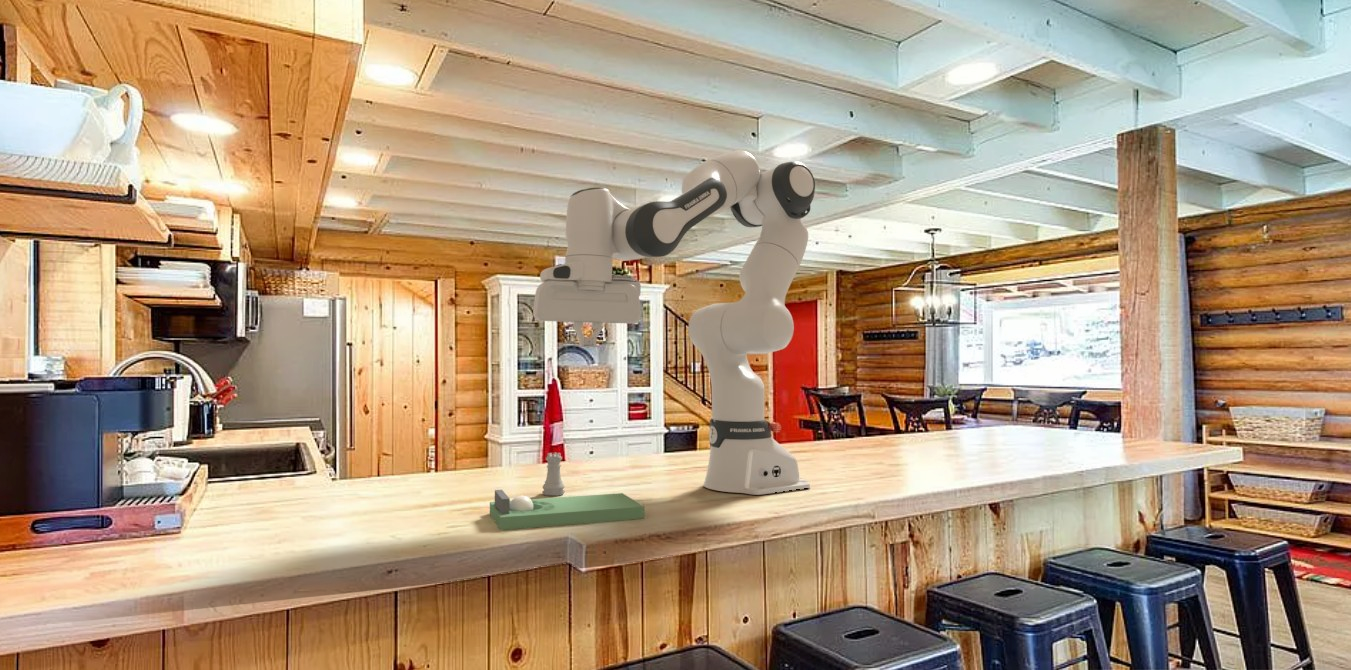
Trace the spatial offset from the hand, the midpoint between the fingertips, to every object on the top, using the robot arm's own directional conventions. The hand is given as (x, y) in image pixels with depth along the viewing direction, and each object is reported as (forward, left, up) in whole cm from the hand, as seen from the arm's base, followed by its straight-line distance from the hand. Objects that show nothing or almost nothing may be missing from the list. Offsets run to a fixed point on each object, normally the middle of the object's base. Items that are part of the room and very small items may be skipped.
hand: (587, 346), depth 134 cm
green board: (+6, +10, -29) cm, 31 cm away
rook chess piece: (+4, -9, -29) cm, 31 cm away
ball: (+14, +10, -27) cm, 32 cm away
